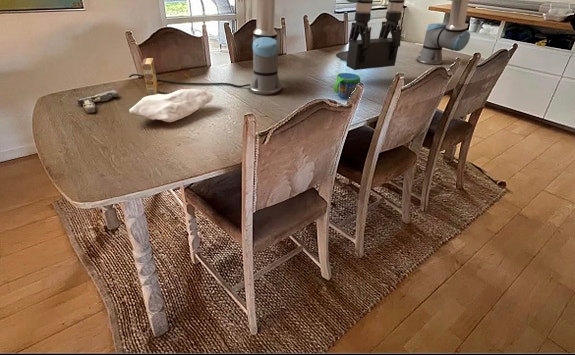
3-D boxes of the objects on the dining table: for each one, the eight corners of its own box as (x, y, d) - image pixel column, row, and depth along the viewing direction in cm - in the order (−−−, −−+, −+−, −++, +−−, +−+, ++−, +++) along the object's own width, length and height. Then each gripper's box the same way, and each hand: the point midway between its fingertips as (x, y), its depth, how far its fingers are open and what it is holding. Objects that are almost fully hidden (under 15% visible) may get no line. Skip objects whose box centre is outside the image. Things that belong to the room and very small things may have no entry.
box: (354, 70, 185) (357, 43, 178) (346, 66, 191) (349, 40, 184) (394, 65, 195) (399, 40, 188) (385, 62, 201) (390, 37, 194)
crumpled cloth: (117, 110, 146) (113, 90, 140) (195, 92, 166) (194, 73, 160) (143, 139, 134) (140, 118, 128) (223, 116, 154) (224, 96, 148)
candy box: (157, 97, 164) (152, 63, 155) (147, 98, 163) (141, 63, 155) (158, 91, 171) (153, 57, 163) (149, 91, 170) (143, 58, 162)
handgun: (128, 97, 156) (111, 87, 164) (86, 107, 144) (70, 97, 152) (129, 103, 157) (113, 94, 165) (88, 114, 146) (72, 103, 154)
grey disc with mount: (401, 60, 233) (403, 45, 228) (362, 67, 215) (363, 51, 211) (362, 51, 258) (364, 38, 253) (324, 57, 240) (325, 42, 236)
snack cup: (350, 91, 181) (353, 70, 175) (365, 97, 173) (368, 76, 168) (326, 96, 173) (328, 75, 168) (340, 103, 166) (343, 81, 160)
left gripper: (382, 15, 169) (374, 64, 181) (357, 8, 185) (351, 54, 197) (369, 16, 166) (362, 66, 178) (344, 9, 182) (339, 55, 194)
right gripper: (414, 14, 176) (404, 62, 188) (387, 8, 191) (380, 52, 204) (401, 15, 173) (392, 63, 185) (375, 8, 189) (369, 53, 201)
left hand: (356, 59), depth 187 cm, fingers open, 8 cm apart
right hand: (386, 57), depth 194 cm, fingers closed on box, 8 cm apart
